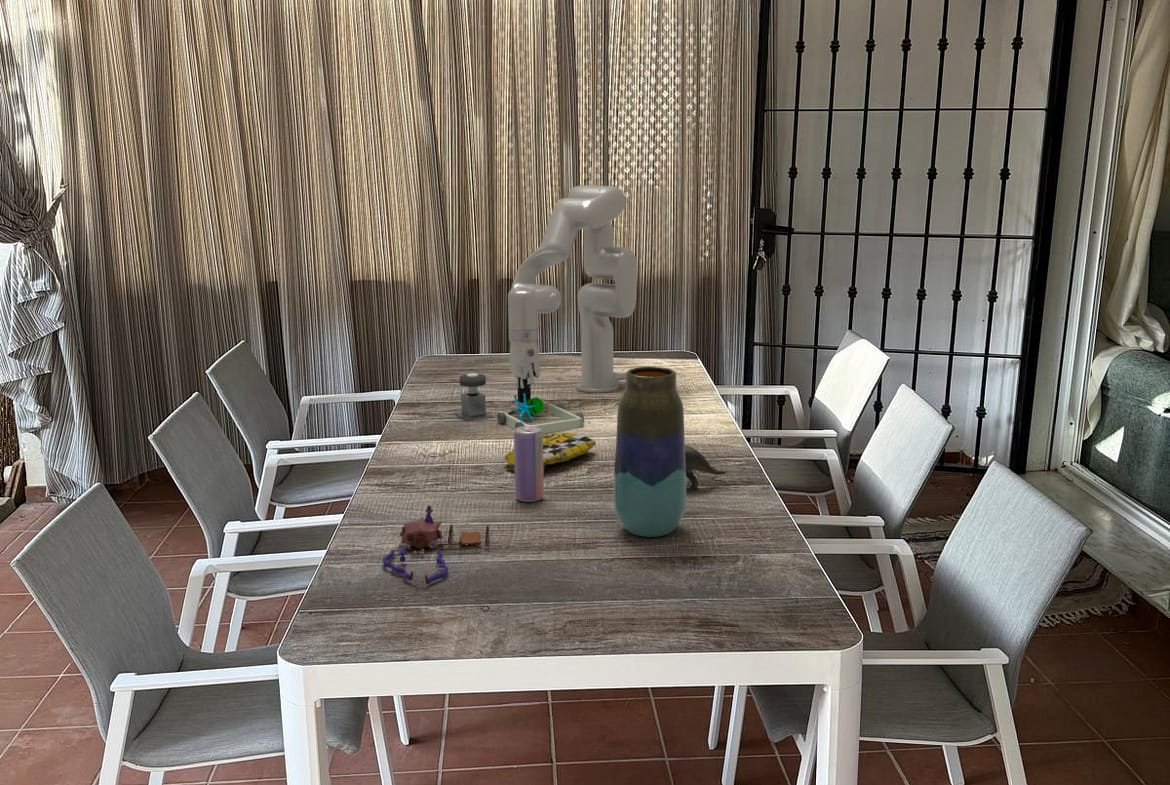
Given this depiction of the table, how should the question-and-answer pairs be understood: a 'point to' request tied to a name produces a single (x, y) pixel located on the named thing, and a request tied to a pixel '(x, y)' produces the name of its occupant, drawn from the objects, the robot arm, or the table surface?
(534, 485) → the beverage can
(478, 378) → the wheel
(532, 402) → the stick construction toy
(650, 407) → the vase
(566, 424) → the chassis bay
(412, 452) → the table surface
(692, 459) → the dinosaur figurine
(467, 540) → the playset
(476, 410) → the axle mount
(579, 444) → the toy spacecraft
